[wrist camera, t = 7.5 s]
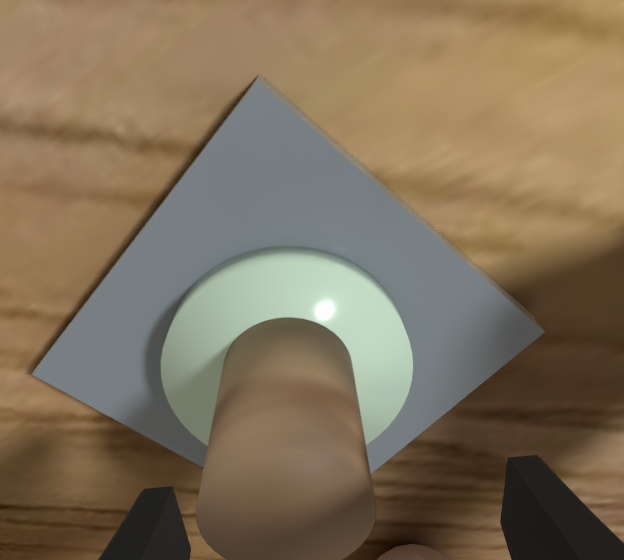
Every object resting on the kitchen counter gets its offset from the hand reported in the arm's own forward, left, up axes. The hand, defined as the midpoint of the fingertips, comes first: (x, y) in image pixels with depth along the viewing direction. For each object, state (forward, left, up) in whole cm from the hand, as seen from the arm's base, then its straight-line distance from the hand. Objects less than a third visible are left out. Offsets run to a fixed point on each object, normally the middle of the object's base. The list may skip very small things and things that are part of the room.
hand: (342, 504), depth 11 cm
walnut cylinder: (0, +2, -7) cm, 8 cm away
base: (0, +3, -10) cm, 11 cm away
